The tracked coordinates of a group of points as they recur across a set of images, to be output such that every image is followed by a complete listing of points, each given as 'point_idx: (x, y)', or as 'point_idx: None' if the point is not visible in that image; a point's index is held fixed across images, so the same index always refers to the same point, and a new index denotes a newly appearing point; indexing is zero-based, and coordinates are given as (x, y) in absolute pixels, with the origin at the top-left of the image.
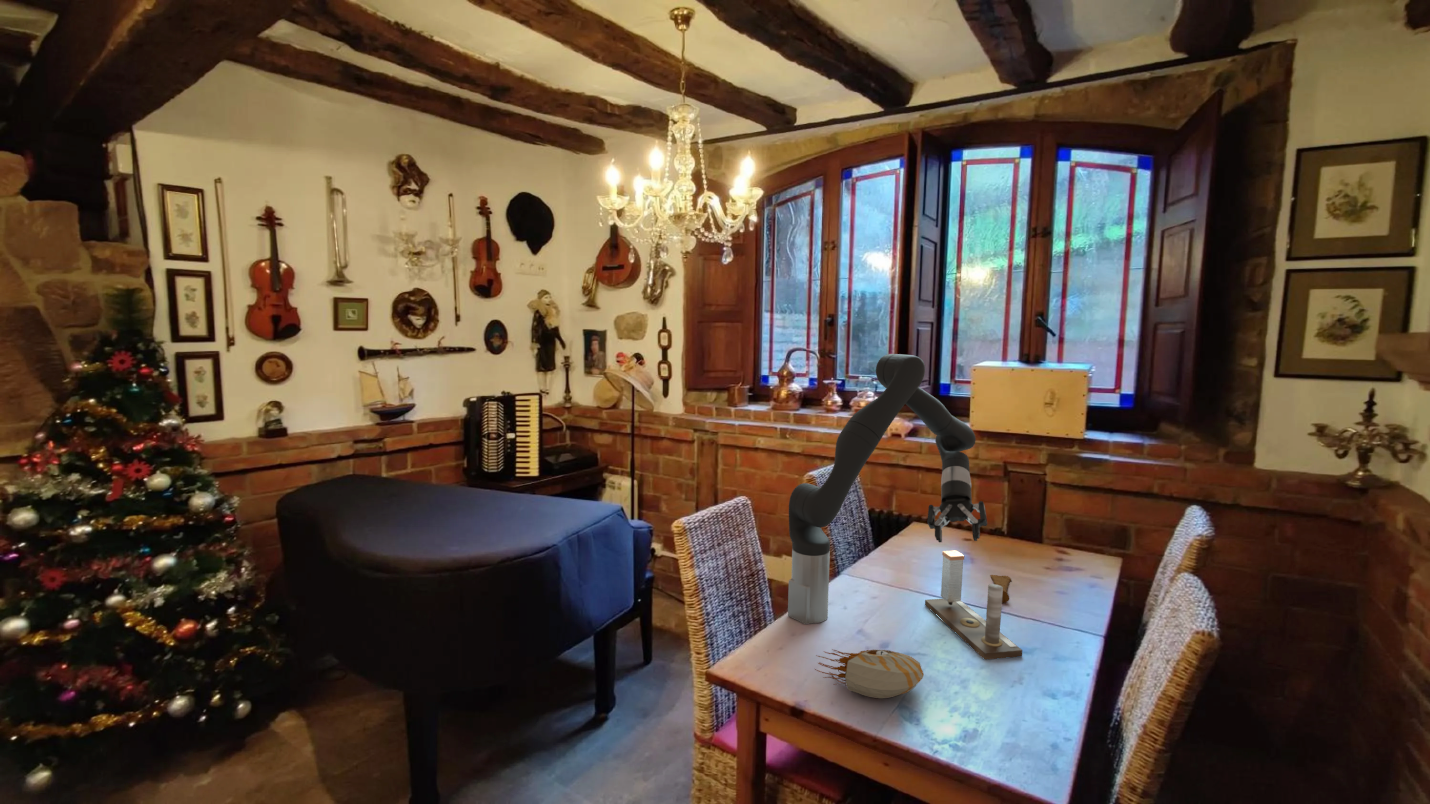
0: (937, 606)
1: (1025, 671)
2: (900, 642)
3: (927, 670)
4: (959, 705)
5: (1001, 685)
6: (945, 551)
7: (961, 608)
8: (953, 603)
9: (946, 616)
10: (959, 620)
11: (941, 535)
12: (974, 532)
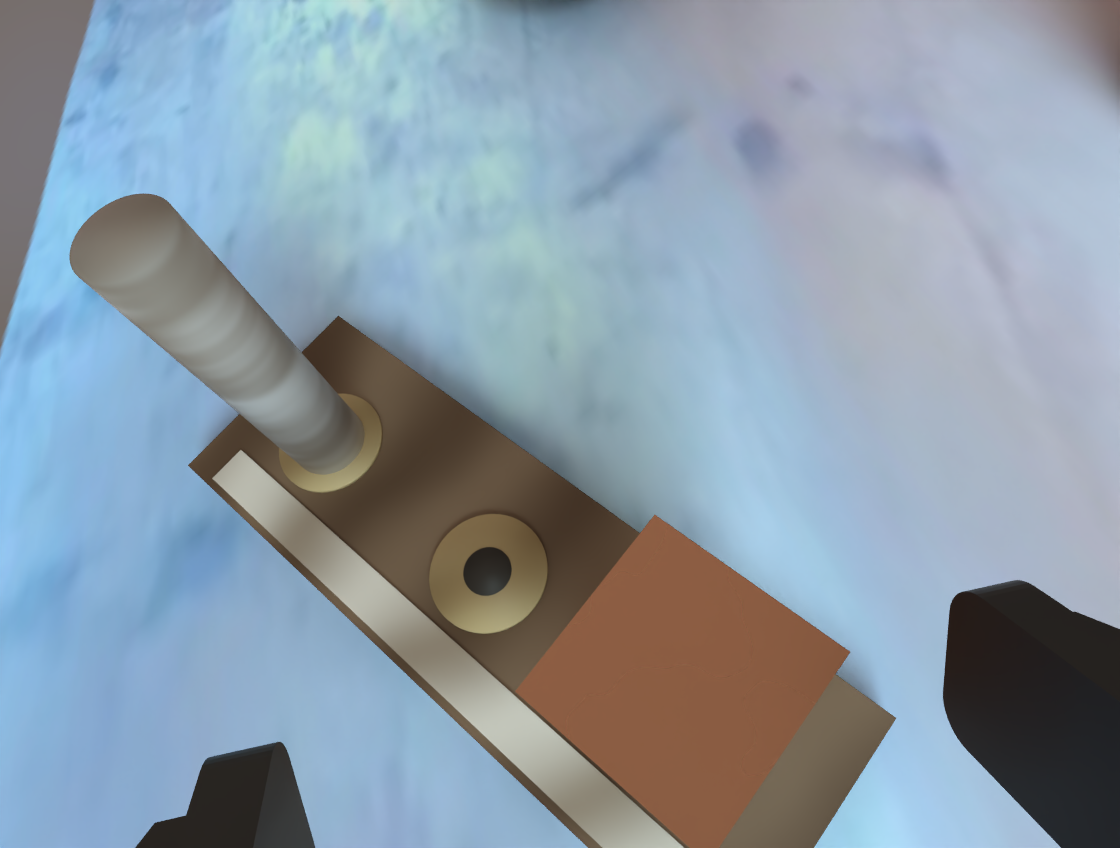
0: None
1: None
2: (716, 209)
3: (521, 120)
4: (363, 44)
5: (264, 217)
6: (810, 674)
7: None
8: None
9: None
10: (552, 559)
11: (1064, 806)
12: (205, 832)
